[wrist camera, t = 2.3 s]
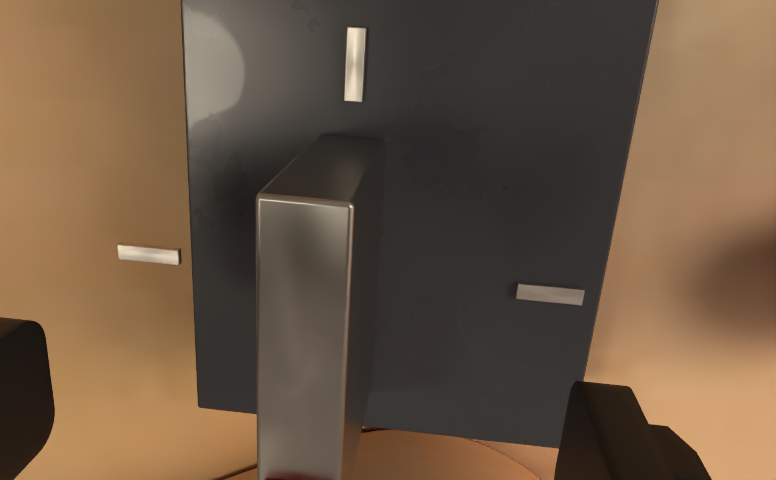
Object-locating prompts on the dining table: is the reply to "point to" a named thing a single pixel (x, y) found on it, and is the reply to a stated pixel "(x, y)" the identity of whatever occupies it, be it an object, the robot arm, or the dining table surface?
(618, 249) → the dining table surface
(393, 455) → the lamp
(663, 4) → the dining table surface
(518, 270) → the dial block
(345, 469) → the grey rectangular plate
